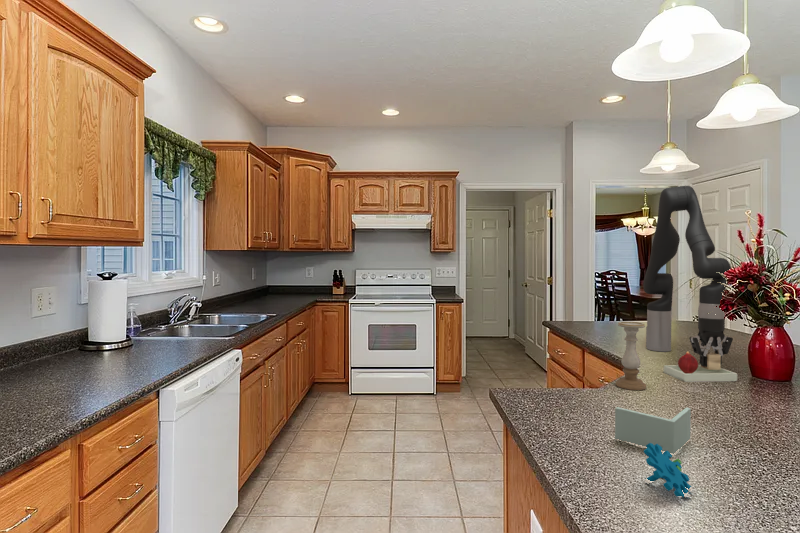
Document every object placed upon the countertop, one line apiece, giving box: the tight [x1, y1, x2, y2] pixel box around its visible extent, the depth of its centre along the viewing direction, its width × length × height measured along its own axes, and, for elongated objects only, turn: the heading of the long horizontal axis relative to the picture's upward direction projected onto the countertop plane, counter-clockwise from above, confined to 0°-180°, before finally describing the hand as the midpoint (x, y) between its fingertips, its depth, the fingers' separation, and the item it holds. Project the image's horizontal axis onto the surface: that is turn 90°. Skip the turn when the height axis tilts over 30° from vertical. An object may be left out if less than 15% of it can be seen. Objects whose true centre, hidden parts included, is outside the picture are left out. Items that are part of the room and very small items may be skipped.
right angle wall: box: [614, 406, 692, 454], centre depth 104 cm, size 12×12×8 cm
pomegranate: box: [677, 351, 699, 374], centre depth 156 cm, size 6×6×8 cm
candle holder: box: [615, 321, 647, 391], centre depth 145 cm, size 9×9×20 cm
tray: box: [663, 364, 738, 383], centre depth 156 cm, size 12×18×2 cm, turn 91°
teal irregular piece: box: [643, 443, 692, 498], centre depth 84 cm, size 11×6×10 cm
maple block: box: [701, 351, 722, 370], centre depth 156 cm, size 4×4×5 cm
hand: (710, 366), depth 156 cm, fingers closed on maple block, 4 cm apart
